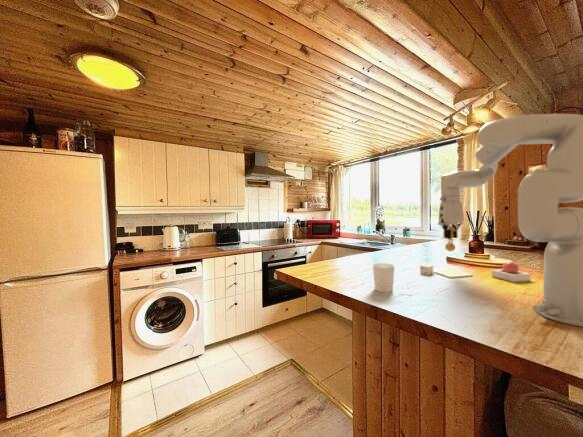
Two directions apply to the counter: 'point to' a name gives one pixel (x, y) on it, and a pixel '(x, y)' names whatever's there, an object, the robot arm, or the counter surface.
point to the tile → (451, 273)
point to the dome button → (510, 268)
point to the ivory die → (426, 269)
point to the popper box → (511, 276)
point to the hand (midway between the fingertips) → (450, 237)
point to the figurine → (449, 245)
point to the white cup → (383, 277)
